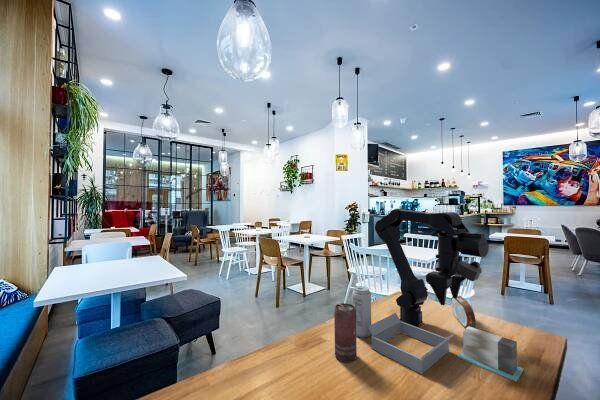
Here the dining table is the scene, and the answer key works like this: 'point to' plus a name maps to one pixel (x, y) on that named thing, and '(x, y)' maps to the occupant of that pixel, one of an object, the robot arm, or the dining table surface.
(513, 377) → the mat
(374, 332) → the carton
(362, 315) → the energy drink can
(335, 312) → the can
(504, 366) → the block
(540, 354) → the dining table surface
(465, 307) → the tin
